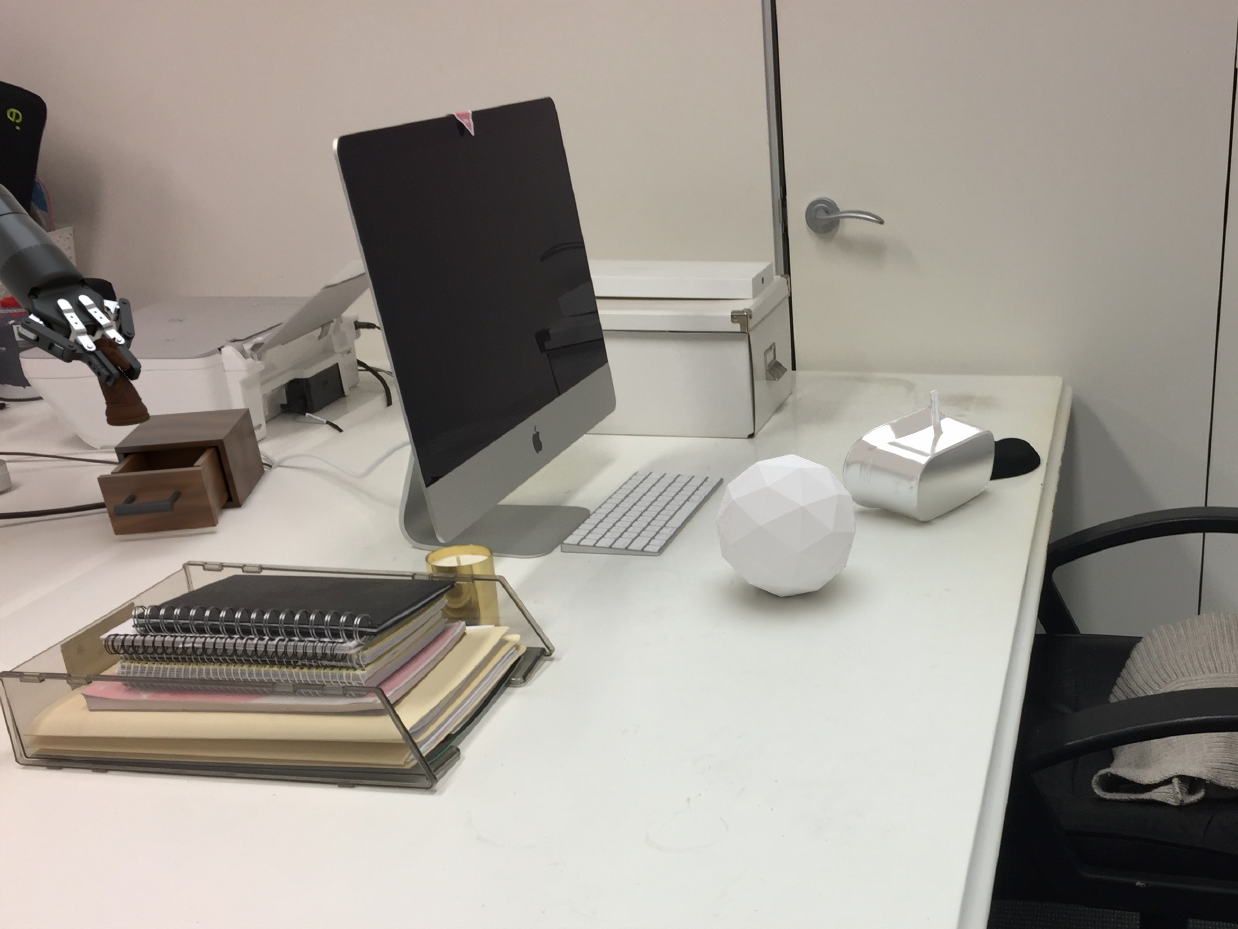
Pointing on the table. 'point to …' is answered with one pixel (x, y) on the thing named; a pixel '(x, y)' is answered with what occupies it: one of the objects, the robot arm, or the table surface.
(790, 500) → the geometric sphere
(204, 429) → the cabinet
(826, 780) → the table surface
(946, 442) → the vr headset
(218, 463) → the drawer
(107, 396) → the chess piece
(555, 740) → the table surface
